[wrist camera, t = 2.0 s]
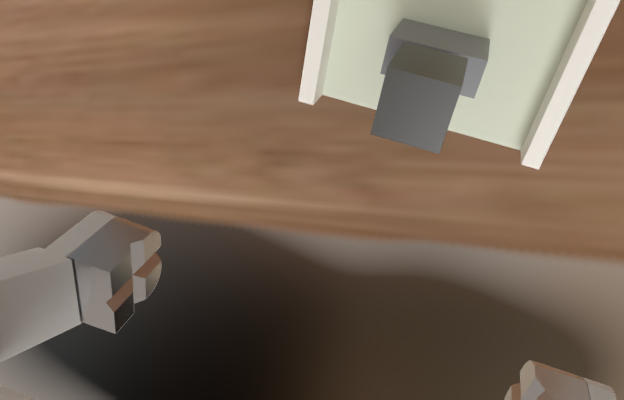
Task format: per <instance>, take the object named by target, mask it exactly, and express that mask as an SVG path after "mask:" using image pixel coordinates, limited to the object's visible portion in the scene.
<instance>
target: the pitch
mask: <svg viewBox="0 0 624 400" xmlns="http://www.w3.org/2000/svg"><path fill="white" fill-rule="evenodd" d="M619 2H620V0H314V1H313V8H312V14H311V21H310V28H309V34H308V41H307V47H306V54H305V60H304V67H303V73H302V80H301V86H300V93H299V100H298V101H300V102H304V103H307V104H311V105H314V104H315V102H316V101H317V100H318V99H319V98H320V97H321V96H322V95H325V96H329V97H332V98H336V99H339V100H343V101H346V102H350V103H354V104H357V105H361V106H364V107H368V108H371V109H375V110H377V106H378V102H379V98H380V94H381V90H382V86H383V82H384V78H385V75H383V74H380V72H381V68H382V64H383V60H384V56H385V52H386V48H387V44H388V40H389V36H390V35H391V33H392V32H393V31H394V29H395V28H396V27H397V26H398V24H399V23H400V22H401V21H402V19H403V18H405V19H409V20H413V21H417V22H422V23H426V24H430V25H434V26H438V27H442V28H446V29H450V30H454V31H458V32H462V33H466V34H471V35H475V36H479V37H483V38H487V39H490V45H489V55H488V62H487V65H486V68H485V70H484V73H483V76H482V79H481V81H480V84H479V87H478V90H477V92H476V95H475V98H474V99H473V98H470V97H466V96H462V95H459V98H458V101H457V103H456V106H455V109H454V112H453V115H452V118H451V121H450V124H449V127H448V129H447V130H450V131H453V132H457V133H460V134H464V135H468V136H471V137H475V138H478V139H482V140H485V141H489V142H492V143H496V144H500V145H503V146H507V147H510V148H514V149H517V150H520V153H521V165H524V166H528V167H531V168H535V169H538V170H539V168H540V166H541V164H542V161H543V159H544V157H545V155H546V153H547V151H548V149H549V147H550V145H551V143H552V141H553V139H554V137H555V135H556V133H557V130H558V128H559V126H560V124H561V122H562V120H563V118H564V116H565V114H566V112H567V110H568V108H569V106H570V104H571V102H572V99H573V97H574V95H575V93H576V91H577V89H578V87H579V85H580V83H581V81H582V79H583V77H584V75H585V73H586V71H587V68H588V66H589V64H590V62H591V60H592V58H593V56H594V54H595V52H596V50H597V48H598V46H599V44H600V42H601V40H602V37H603V35H604V33H605V31H606V29H607V27H608V25H609V23H610V21H611V19H612V17H613V15H614V13H615V11H616V8H617V6H618V4H619Z"/></svg>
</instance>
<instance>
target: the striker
mask: <svg viewBox="0 0 624 400" xmlns="http://www.w3.org/2000/svg"><path fill="white" fill-rule="evenodd" d="M489 45H490V39H487V38H483V37H479V36H475V35H471V34H466V33H462V32H458V31H454V30H450V29H446V28H442V27H438V26H434V25H430V24H426V23H422V22H417V21H413V20H409V19H405V18H403V19H402V21H401V22H400V23H399V24H398V26H397V27H396V28H395V29H394V31H393V32H392V33H391V35H390V36H389V40H388V44H387V48H386V52H385V56H384V60H383V64H382V68H381V72H380V74H383V75H385V78H384V82H383V86H382V90H381V94H380V98H379V102H378V106H377V110H376V114H375V118H374V122H373V126H372V130H371V134H372V135H375V136H379V137H382V138H386V139H389V140H393V141H396V142H400V143H403V144H407V145H410V146H413V147H417V148H420V149H424V150H427V151H431V152H434V153H438V154H439V153H440V150H441V147H442V144H443V141H444V138H445V135H446V132H447V129H448V127H449V124H450V121H451V118H452V115H453V112H454V109H455V106H456V103H457V101H458V98H459V95H462V96H466V97H470V98H473V99H474V98H475V95H476V92H477V90H478V87H479V84H480V81H481V79H482V76H483V73H484V70H485V68H486V65H487V62H488V55H489Z"/></svg>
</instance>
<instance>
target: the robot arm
mask: <svg viewBox="0 0 624 400" xmlns="http://www.w3.org/2000/svg"><path fill="white" fill-rule="evenodd" d="M160 246H161V237H160V234H159V233H158V232H157V231H155V230H152V229H150V228H147V227H144V226H142V225H139V224H136V223H133V222H131V221H128V220H126V219H123V218H120V217H116V216H114V215H111V214H108V213H106V212H103V211H100V210H98V211H94V212H92V213H90V214H89V215H88V216H86V217H85V218H84V219H83V220H81V221H80V222H79V223H77V224H76V225H75V226H74V227H72V228H71V229H70V230H69V231H67V232H66V233H65V234H63V235H62V236H61V237H60V238H58V239H57V240H56V241H54V242H53V243H52V244H51V245H49V246H48V247H47V248H46V249H42V248H34V249H30V250H26V251H23V252H19V253H15V254H11V255H7V256H4V257H0V362H2V361H4V360H6V359H8V358H10V357H12V356H14V355H16V354H19V353H20V352H22V351H25V350H27V349H29V348H31V347H33V346H35V345H37V344H39V343H42V342H44V341H46V340H47V339H50V338H52V337H54V336H56V335H58V334H60V333H62V332H65V331H67V330H68V329H71V328H73V327H75V326H77V325H79V324H81V322H84V323H87V324H89V325H92V326H95V327H98V328H100V329H103V330H106V331H109V332H112V333H114V334H116V333H117V332H118V331H119V329H120V328H121V327H122V326H123V325H124V324H125V323H126V322H127V320H128V319H129V318H130V317H131V316H132V315H133V314H134V303H137V302H140V301H142V300H145V299H146V298H147V297H148V296H149V295H150V294H151V292H152V291H153V290H154V288H155V286H156V284H157V282H158V280H159V277H160V272H161V260H160V258H159V257H158V255H157V253H156V251H157V250H158V248H159V247H160ZM0 400H35V399H33V398H31V397H28V396H26V395H24V394H21V393H19V392H16V391H14V390H12V389H10V388H7V387H5V386H3V385H0ZM504 400H616V395H615V392H614V391H613V389H612V388H611V387H610V386H607V385H604V384H601V383H598V382H595V381H592V380H589V379H586V378H581V377H579V376H576V375H573V374H570V373H567V372H565V371H562V370H558V369H555V368H553V367H550V366H547V365H543V364H541V363H538V362H535V361H531V360H529V361H528V362H527V363H526V364H525V365H524V366H523V368H522V369H521V371H520V383H517V384H515V385H512V386H511V387H510V389H509V391H508V392H507V394H506V396H505V399H504Z"/></svg>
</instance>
